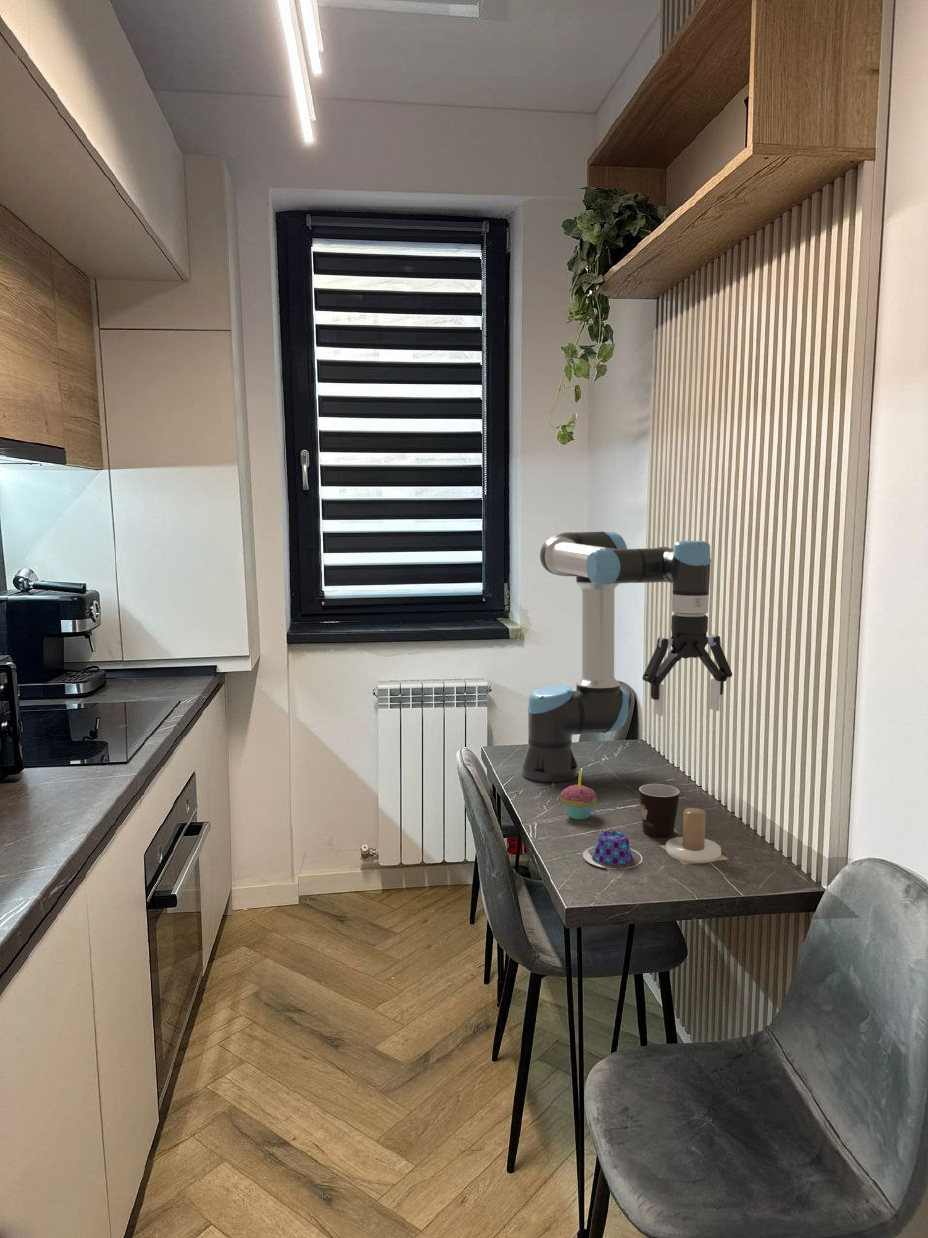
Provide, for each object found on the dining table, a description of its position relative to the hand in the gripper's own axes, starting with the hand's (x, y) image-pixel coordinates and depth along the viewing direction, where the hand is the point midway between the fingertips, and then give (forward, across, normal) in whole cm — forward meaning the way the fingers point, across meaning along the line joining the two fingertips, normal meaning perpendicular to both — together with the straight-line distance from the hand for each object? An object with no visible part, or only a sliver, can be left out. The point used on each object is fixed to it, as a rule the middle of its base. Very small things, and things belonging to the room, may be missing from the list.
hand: (686, 712), depth 181 cm
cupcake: (+28, -18, +16) cm, 37 cm away
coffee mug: (+28, -5, +2) cm, 28 cm away
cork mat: (+27, -4, -11) cm, 29 cm away
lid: (+27, -4, -11) cm, 29 cm away
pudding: (+28, -21, -8) cm, 36 cm away
